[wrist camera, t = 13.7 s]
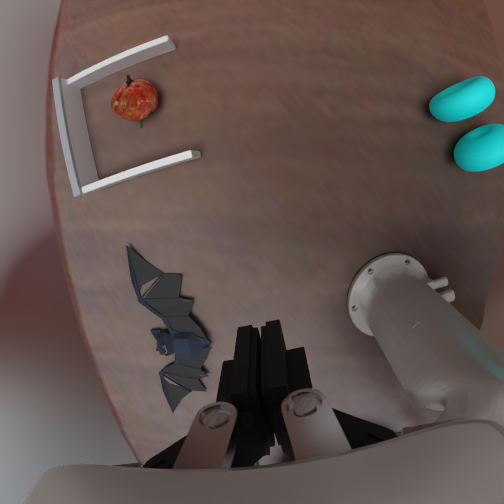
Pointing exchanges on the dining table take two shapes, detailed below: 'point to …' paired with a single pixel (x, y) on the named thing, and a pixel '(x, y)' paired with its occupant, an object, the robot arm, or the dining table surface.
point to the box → (76, 127)
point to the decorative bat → (172, 329)
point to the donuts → (462, 107)
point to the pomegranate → (135, 99)
